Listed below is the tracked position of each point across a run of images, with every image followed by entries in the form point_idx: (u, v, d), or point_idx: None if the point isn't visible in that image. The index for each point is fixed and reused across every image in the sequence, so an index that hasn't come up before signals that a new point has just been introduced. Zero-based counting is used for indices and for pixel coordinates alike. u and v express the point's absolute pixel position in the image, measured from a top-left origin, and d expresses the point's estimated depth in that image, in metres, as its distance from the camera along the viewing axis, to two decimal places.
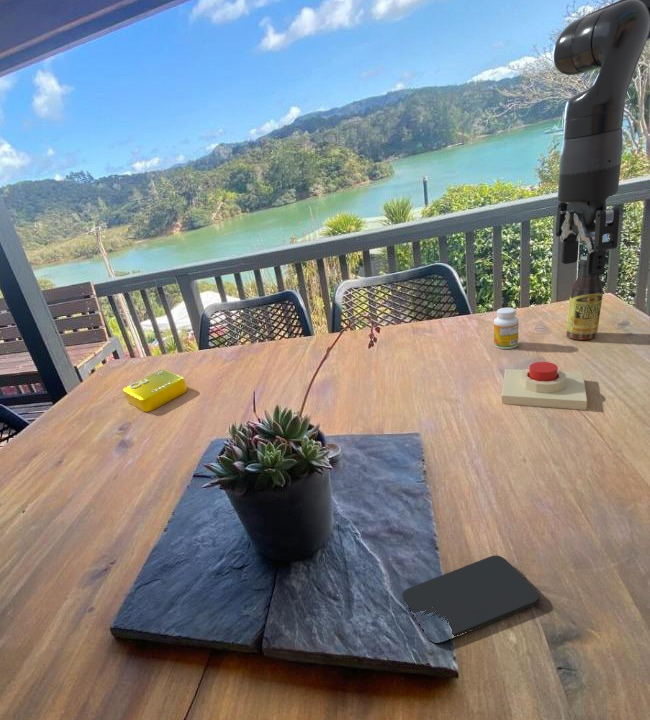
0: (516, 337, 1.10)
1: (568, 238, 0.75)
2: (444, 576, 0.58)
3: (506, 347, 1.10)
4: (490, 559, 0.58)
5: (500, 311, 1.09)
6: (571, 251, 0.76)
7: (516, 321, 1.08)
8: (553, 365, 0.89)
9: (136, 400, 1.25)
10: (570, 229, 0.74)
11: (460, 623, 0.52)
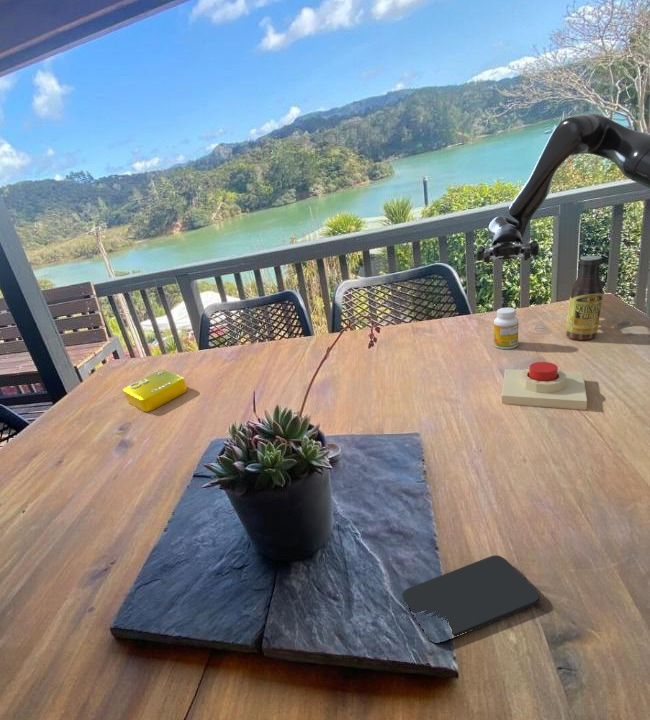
0: (516, 337, 1.10)
1: None
2: (444, 576, 0.58)
3: (506, 347, 1.10)
4: (490, 559, 0.58)
5: (500, 311, 1.09)
6: (524, 254, 1.13)
7: (516, 321, 1.08)
8: (553, 365, 0.89)
9: (136, 399, 1.25)
10: (519, 253, 1.17)
11: (460, 623, 0.52)
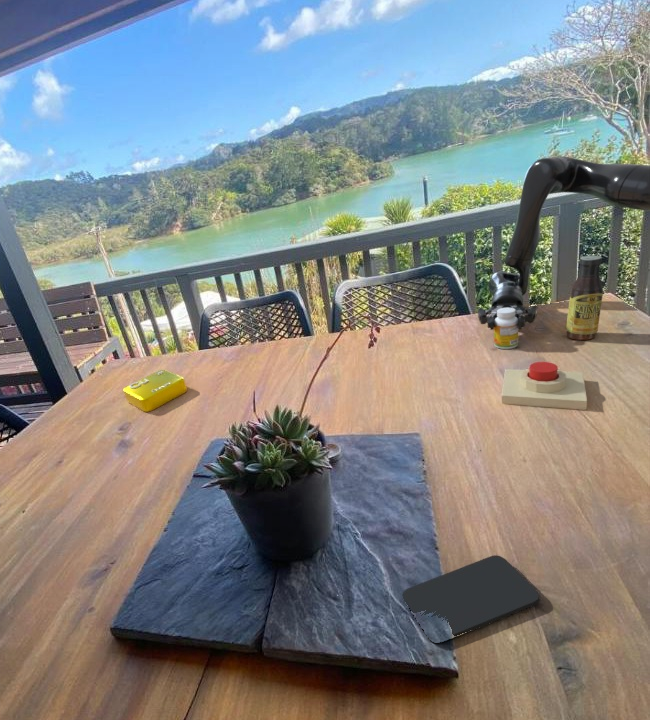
0: (516, 337, 1.10)
1: None
2: (444, 576, 0.58)
3: (506, 347, 1.10)
4: (490, 559, 0.58)
5: (500, 311, 1.09)
6: None
7: (516, 321, 1.08)
8: (553, 365, 0.89)
9: (136, 399, 1.25)
10: None
11: (460, 623, 0.52)
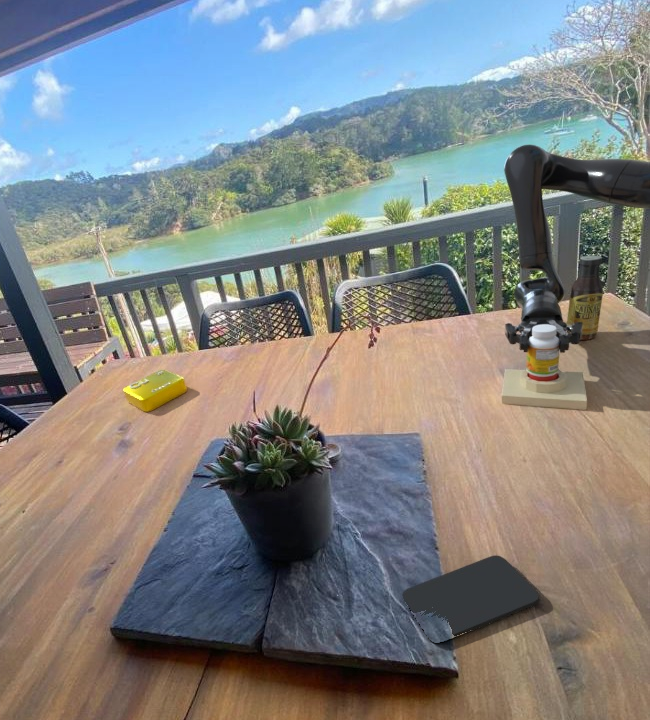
0: (556, 362, 0.86)
1: None
2: (444, 576, 0.58)
3: (543, 374, 0.87)
4: (490, 559, 0.58)
5: (536, 329, 0.86)
6: None
7: (557, 342, 0.85)
8: None
9: (136, 399, 1.25)
10: None
11: (460, 623, 0.52)
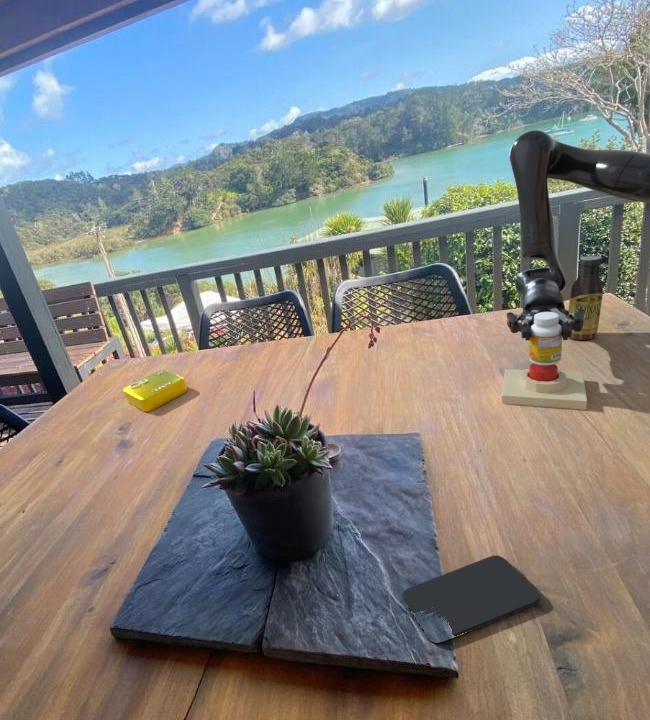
0: (559, 350, 0.85)
1: None
2: (444, 576, 0.58)
3: (546, 363, 0.86)
4: (490, 559, 0.58)
5: (538, 317, 0.85)
6: (562, 330, 0.84)
7: (560, 330, 0.83)
8: (553, 365, 0.89)
9: (136, 399, 1.25)
10: None
11: (460, 623, 0.52)
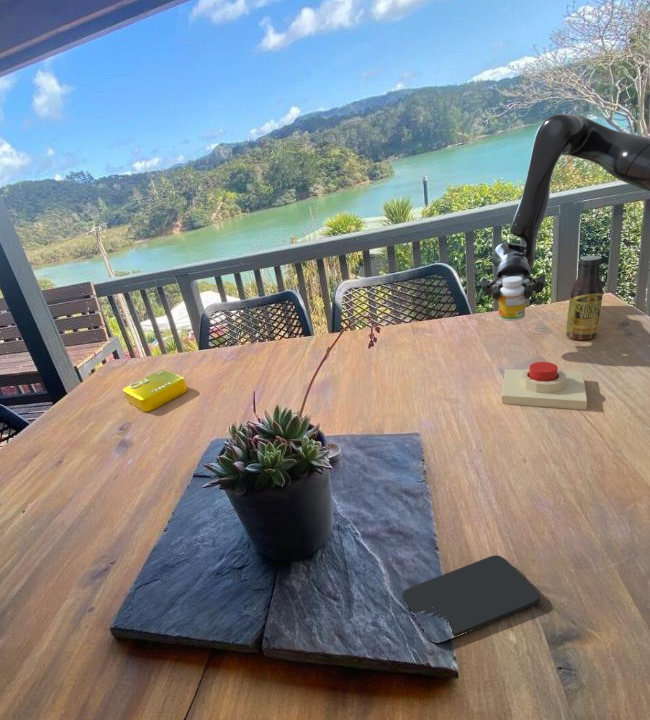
0: (523, 308, 1.02)
1: None
2: (444, 576, 0.58)
3: (512, 319, 1.03)
4: (490, 559, 0.58)
5: (506, 280, 1.02)
6: None
7: (523, 290, 1.00)
8: (553, 365, 0.89)
9: (136, 399, 1.25)
10: None
11: (460, 623, 0.52)
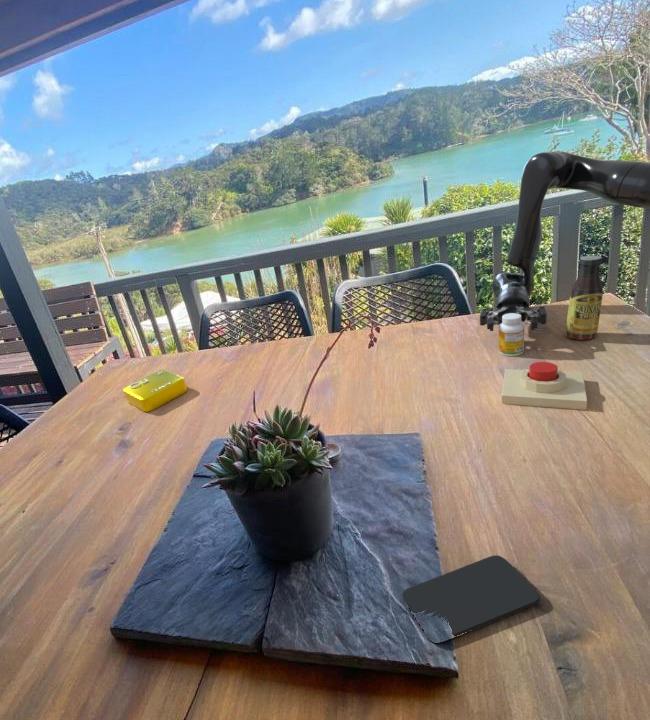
0: (522, 344, 1.06)
1: None
2: (444, 576, 0.58)
3: (511, 354, 1.07)
4: (490, 559, 0.58)
5: (505, 317, 1.05)
6: None
7: (522, 327, 1.04)
8: (553, 365, 0.89)
9: (136, 399, 1.25)
10: None
11: (460, 623, 0.52)
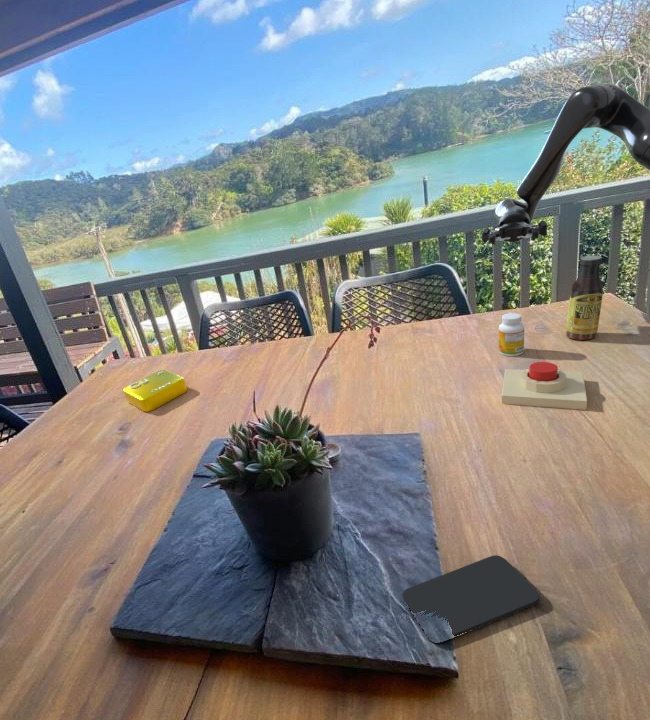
0: (522, 344, 1.06)
1: None
2: (444, 576, 0.58)
3: (511, 354, 1.07)
4: (490, 559, 0.58)
5: (505, 317, 1.05)
6: None
7: (522, 327, 1.04)
8: (553, 365, 0.89)
9: (136, 399, 1.25)
10: (526, 234, 1.11)
11: (460, 623, 0.52)
